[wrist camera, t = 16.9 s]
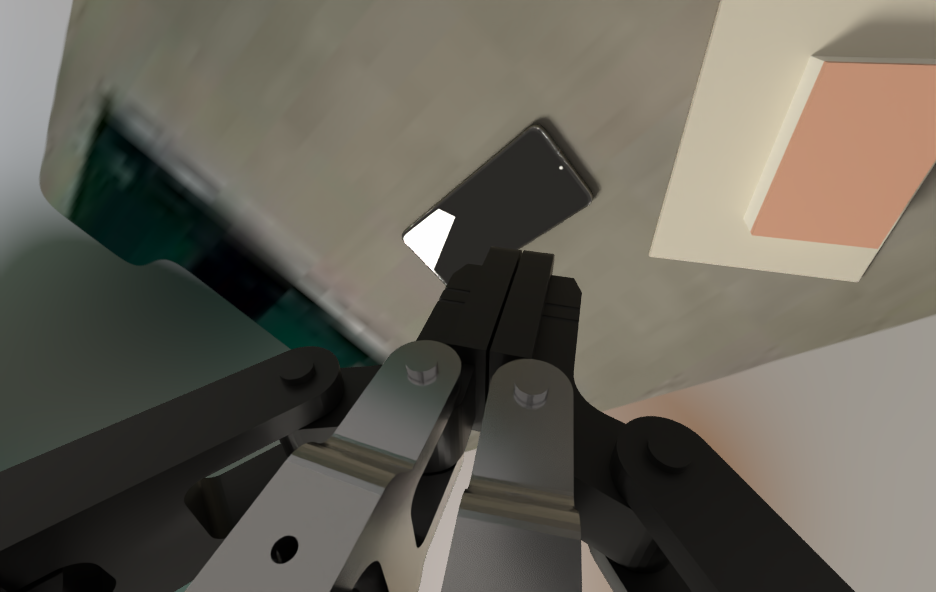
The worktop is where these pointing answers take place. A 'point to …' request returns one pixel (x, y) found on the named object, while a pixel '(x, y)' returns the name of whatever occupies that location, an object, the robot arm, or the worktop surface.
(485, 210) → the smartphone
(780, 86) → the mat
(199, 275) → the worktop surface
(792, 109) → the block
